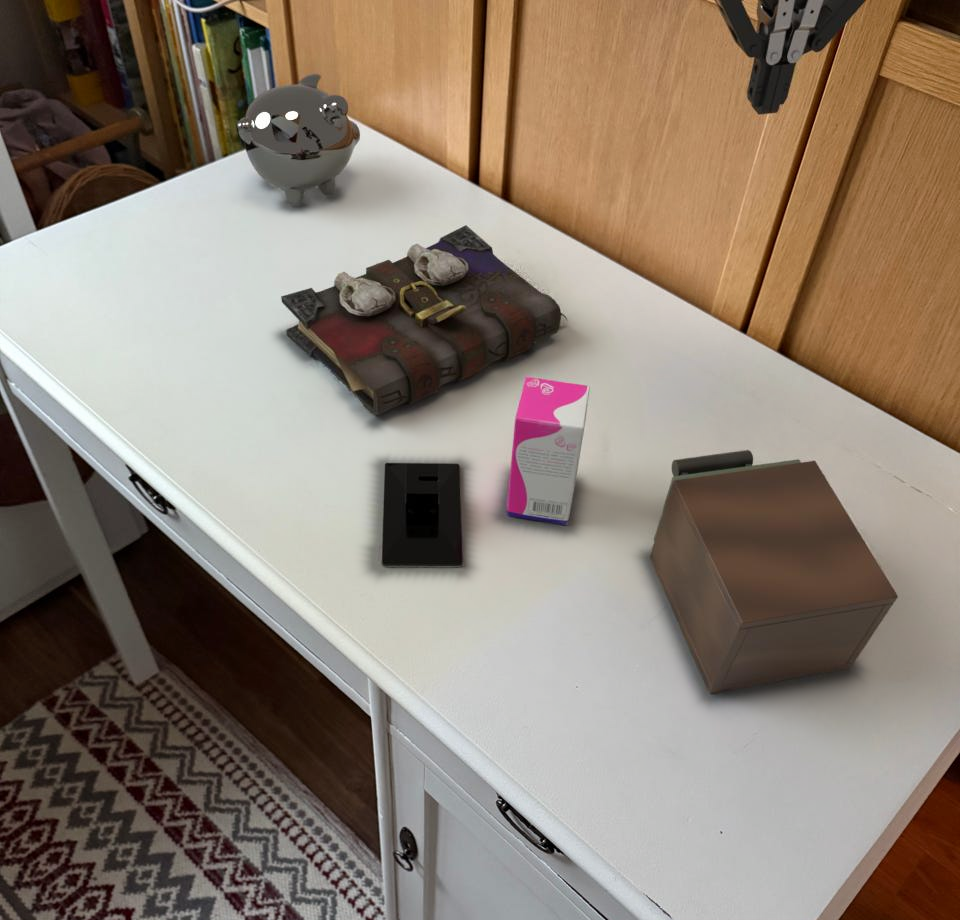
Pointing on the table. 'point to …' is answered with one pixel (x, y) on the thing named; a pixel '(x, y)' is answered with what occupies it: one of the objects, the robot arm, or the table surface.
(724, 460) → the drawer
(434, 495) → the black plastic holder
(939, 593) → the table surface
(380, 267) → the book
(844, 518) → the cabinet
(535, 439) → the supplement box
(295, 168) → the piggy bank
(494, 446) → the table surface
